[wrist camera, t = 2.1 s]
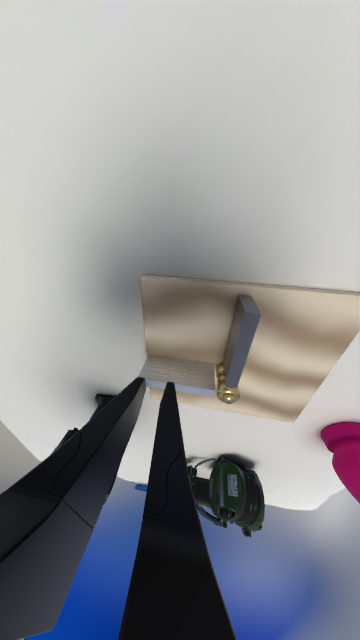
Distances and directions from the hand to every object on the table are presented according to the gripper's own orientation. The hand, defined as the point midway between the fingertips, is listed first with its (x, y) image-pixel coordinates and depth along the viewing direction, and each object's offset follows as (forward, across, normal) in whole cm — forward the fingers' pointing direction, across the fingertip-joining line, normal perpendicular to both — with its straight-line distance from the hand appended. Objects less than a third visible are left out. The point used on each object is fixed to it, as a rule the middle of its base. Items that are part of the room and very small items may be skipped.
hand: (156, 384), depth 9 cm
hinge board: (+11, -6, +7) cm, 15 cm away
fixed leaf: (+10, -2, +8) cm, 13 cm away
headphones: (+11, -10, +41) cm, 44 cm away
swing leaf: (+10, -6, +3) cm, 12 cm away
